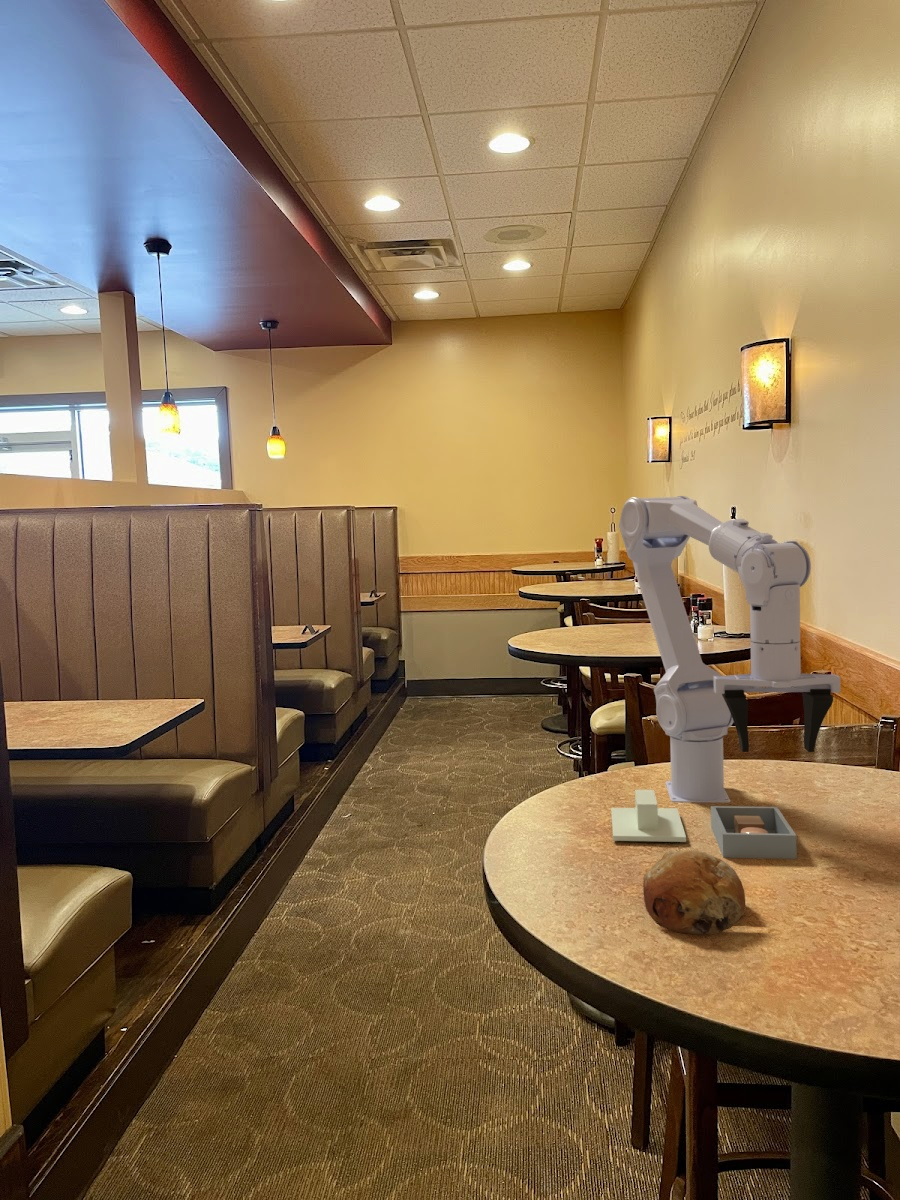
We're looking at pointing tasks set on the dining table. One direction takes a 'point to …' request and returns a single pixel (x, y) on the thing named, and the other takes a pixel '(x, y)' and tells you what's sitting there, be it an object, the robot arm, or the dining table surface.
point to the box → (753, 834)
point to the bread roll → (693, 893)
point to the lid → (647, 821)
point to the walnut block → (747, 822)
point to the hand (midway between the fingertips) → (776, 750)
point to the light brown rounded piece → (753, 830)
